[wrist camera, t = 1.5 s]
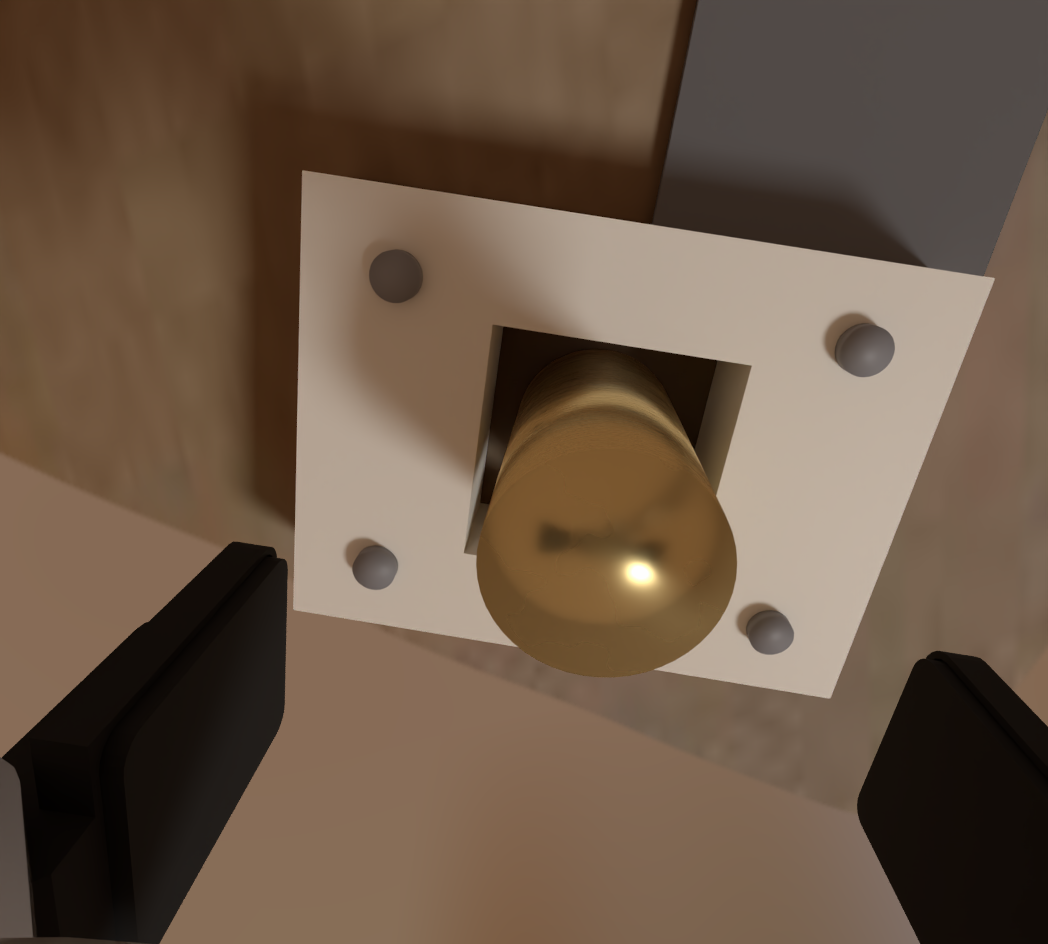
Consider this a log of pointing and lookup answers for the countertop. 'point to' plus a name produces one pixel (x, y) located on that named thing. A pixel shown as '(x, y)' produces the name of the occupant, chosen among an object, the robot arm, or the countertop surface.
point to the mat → (857, 125)
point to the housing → (626, 319)
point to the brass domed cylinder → (603, 524)
